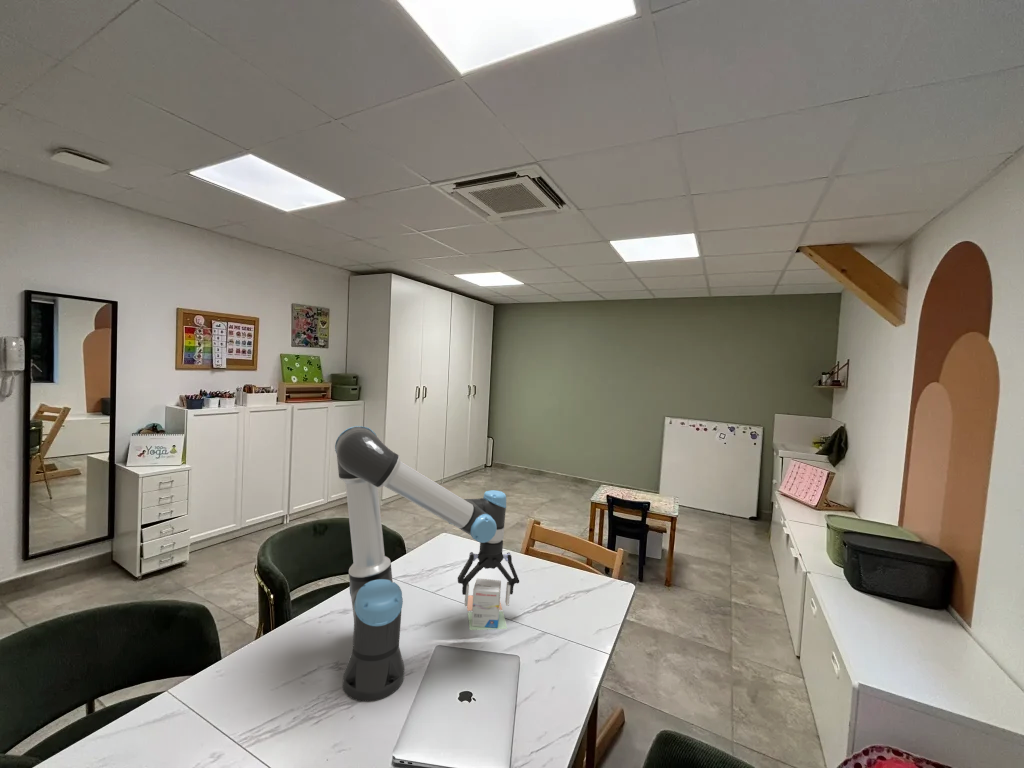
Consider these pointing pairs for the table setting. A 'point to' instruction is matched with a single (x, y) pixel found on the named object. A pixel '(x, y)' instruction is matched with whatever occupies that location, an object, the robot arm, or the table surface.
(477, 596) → the ink box
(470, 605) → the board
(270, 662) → the table surface
